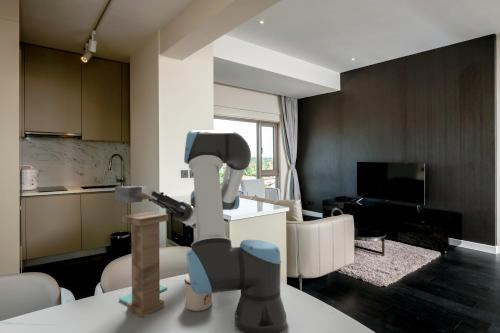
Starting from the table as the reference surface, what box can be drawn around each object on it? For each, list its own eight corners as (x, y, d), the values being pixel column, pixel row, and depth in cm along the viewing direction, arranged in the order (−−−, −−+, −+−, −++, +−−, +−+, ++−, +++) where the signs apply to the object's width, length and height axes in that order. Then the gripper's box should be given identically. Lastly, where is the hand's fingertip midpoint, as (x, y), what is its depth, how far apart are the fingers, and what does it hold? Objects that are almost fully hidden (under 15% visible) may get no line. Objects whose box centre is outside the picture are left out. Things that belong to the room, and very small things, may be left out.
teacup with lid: (209, 312, 93) (209, 275, 93) (180, 311, 94) (180, 274, 93) (216, 295, 105) (216, 262, 105) (191, 294, 106) (191, 261, 105)
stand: (168, 306, 96) (168, 214, 96) (141, 320, 88) (140, 219, 88) (149, 298, 102) (149, 211, 102) (122, 310, 94) (121, 215, 94)
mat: (166, 289, 109) (166, 287, 109) (129, 305, 97) (129, 303, 97) (156, 285, 113) (156, 283, 113) (119, 300, 101) (119, 298, 100)
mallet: (152, 197, 114) (152, 184, 114) (165, 198, 110) (165, 184, 110) (115, 201, 102) (115, 186, 102) (128, 203, 98) (128, 187, 97)
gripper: (195, 224, 117) (150, 200, 100) (169, 219, 126) (124, 196, 109) (202, 206, 120) (159, 180, 103) (176, 203, 129) (133, 178, 112)
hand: (141, 188), depth 106 cm, fingers closed on mallet, 2 cm apart
